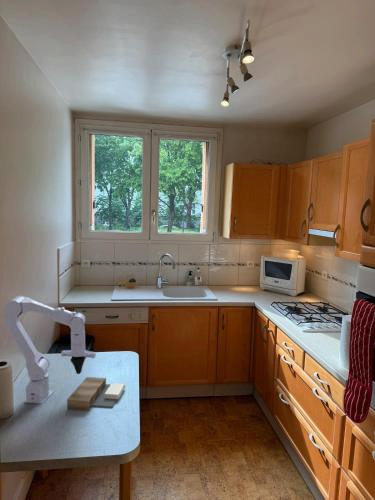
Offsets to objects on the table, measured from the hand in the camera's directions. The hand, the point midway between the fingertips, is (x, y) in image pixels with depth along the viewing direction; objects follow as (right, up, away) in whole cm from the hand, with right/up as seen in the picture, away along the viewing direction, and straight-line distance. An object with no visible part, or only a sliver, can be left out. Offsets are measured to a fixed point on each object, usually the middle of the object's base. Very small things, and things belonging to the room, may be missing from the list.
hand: (79, 372), depth 147 cm
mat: (+13, -9, -1) cm, 16 cm away
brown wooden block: (+4, -10, -2) cm, 11 cm away
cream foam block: (+16, -8, 0) cm, 17 cm away
